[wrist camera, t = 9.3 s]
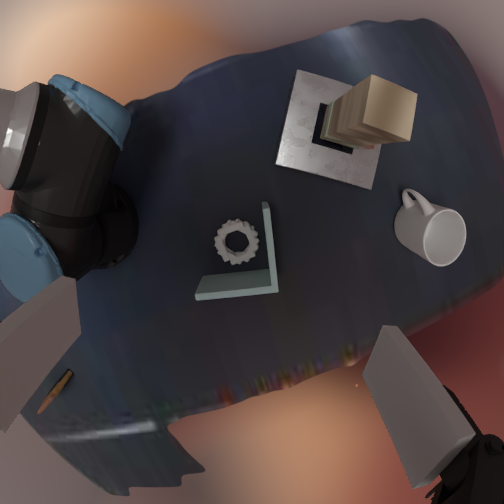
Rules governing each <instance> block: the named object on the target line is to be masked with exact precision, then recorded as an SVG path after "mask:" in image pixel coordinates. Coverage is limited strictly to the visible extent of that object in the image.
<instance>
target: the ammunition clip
mask: <svg viewBox="0 0 504 504" xmlns="http://www.w3.org/2000/svg"><path fill="white" fill-rule="evenodd" d="M73 375H74V373H73V372H72V371H71V370H70V369H68V370H67V371H66V372H65V373H64V374H63V376H62V377H61V378H60V379H59V380H58V381H57V383H56V384H55V385H54V386H53V388H52V389H51V390H50V392H49V393H48V394H47V397H46V398H45V399H44V401H43V403H42V405H41V406H40V408H39V410H38V414H40V413H41V412H42V411H43V410H44V409H45V408H46V407H47V406H48V405H49V404H50V403H51V401H52V400H53V399H54V398H55V397H56V396H57V395H58V394H59V393H60V391H61V390H62V389H63V388H64V387H65V386H66V384H67V383H68V381H69V380H70V379H71V377H72V376H73Z"/></svg>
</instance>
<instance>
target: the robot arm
mask: <svg viewBox="0 0 504 504" xmlns="http://www.w3.org/2000/svg"><path fill="white" fill-rule="evenodd" d="M130 124H131V116H130V113H129V112H128V110H127V109H126V108H125V107H124V106H122V105H121V104H119V103H118V102H116V101H115V100H113V99H111V98H110V97H108V96H106V95H104V94H103V93H101V92H99V91H97V90H95V89H93V88H91V87H89V86H87V85H84V84H81V83H79V82H77V81H75V80H73V79H71V78H69V77H66V76H63V75H57V74H56V75H54V76H53V77H52V78H51V79H50V80H49V81H48V85H45V84H42V83H38V82H33V83H31V84H29V85H28V86H26V87H25V88H23V89H21V90H20V91H17V92H14V91H9V90H5V89H0V184H1V185H2V187H3V188H4V189H7V190H15V192H14V196H13V201H12V206H11V211H10V213H6V214H3V215H2V216H1V217H0V279H1V281H2V283H3V284H4V286H5V287H6V288H7V289H8V290H9V292H10V293H11V294H12V295H13V296H15V297H16V298H17V299H19V300H20V301H22V302H24V304H23V305H22V306H21V307H19V308H18V309H17V310H16V311H14V312H13V313H12V314H11V315H9V316H8V317H7V318H6V319H4V320H3V321H0V430H1V431H3V432H4V433H6V431H7V430H8V428H9V426H10V425H11V424H12V422H13V421H14V419H15V418H16V417H17V415H18V414H19V412H20V411H21V410H22V408H23V407H24V405H25V404H26V403H27V401H28V400H29V399H30V397H31V396H32V395H33V393H34V392H35V391H36V389H37V388H38V387H39V385H40V384H41V383H42V381H43V380H44V379H45V377H46V376H47V375H48V374H49V372H50V371H51V370H52V368H53V367H54V366H55V365H56V363H57V362H58V361H59V360H60V358H61V357H62V356H63V355H64V353H65V352H66V351H67V350H68V349H69V347H70V346H71V345H72V344H73V343H74V341H75V340H76V339H77V338H78V337H79V335H80V334H81V328H80V321H79V312H78V303H77V292H76V281H78V280H79V279H80V278H82V277H83V276H84V275H85V274H87V273H88V272H89V271H91V270H93V269H105V268H109V267H112V266H114V265H116V264H118V263H119V262H121V261H122V260H123V259H124V258H125V257H127V256H128V254H129V253H130V252H131V250H132V249H133V247H134V245H135V242H136V239H137V234H138V219H137V214H136V210H135V208H134V205H133V203H132V201H131V200H130V198H129V197H128V195H127V194H126V193H125V192H124V191H123V190H122V189H121V188H120V187H118V186H117V185H115V184H113V183H111V182H109V179H110V176H111V173H112V171H113V168H114V165H115V163H116V160H117V158H118V155H119V153H120V151H122V150H123V143H124V140H125V137H126V135H127V132H128V130H129V127H130ZM362 376H363V378H364V380H365V382H366V384H367V386H368V389H369V391H370V392H371V395H372V397H373V399H374V401H375V404H376V406H377V408H378V410H379V412H380V414H381V417H382V419H383V421H384V423H385V426H386V428H387V430H388V432H389V434H390V437H391V439H392V441H393V443H394V446H395V448H396V450H397V452H398V455H399V457H400V460H401V462H402V464H403V467H404V469H405V472H406V474H407V476H408V479H409V481H410V484H411V486H412V488H413V489H415V488H418V487H422V486H425V485H428V484H430V483H431V482H432V481H433V480H434V479H435V478H436V477H437V476H438V475H439V474H440V476H441V479H442V481H441V482H439V483H438V484H437V485H436V486H435V487H434V488H433V489H432V490H431V491H430V492H429V493H428V494H427V495H426V497H425V498H428V497H429V496H430V495H432V494H433V493H434V492H435V494H434V497H432V498H431V500H432V503H431V504H504V442H503V441H502V440H501V439H500V438H499V437H497V436H495V435H492V434H487V435H483V434H482V433H481V431H480V430H479V429H478V427H477V425H476V424H475V422H474V421H473V419H472V418H471V417H470V415H469V414H468V412H467V411H466V410H464V409H465V408H464V407H463V406H462V404H461V403H459V400H458V398H457V397H456V396H455V394H454V393H453V392H452V391H451V390H449V389H448V388H447V387H446V386H444V385H442V384H441V383H440V382H439V380H438V379H437V377H436V376H435V375H434V373H433V372H432V371H431V369H430V368H429V367H428V365H427V364H426V363H425V361H424V360H423V359H422V358H421V356H420V355H419V354H418V352H417V351H416V350H415V349H414V347H413V346H412V345H411V343H410V342H409V341H408V339H407V338H406V337H405V336H404V334H403V333H402V332H401V331H400V329H399V328H398V327H397V326H385V325H383V326H382V329H381V331H380V334H379V336H378V339H377V341H376V344H375V346H374V348H373V351H372V353H371V356H370V358H369V360H368V363H367V365H366V367H365V369H364V371H363V374H362Z"/></svg>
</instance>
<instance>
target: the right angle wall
mask: <svg viewBox="0 0 504 504" xmlns="http://www.w3.org/2000/svg"><path fill="white" fill-rule="evenodd" d="M262 210H263V218H264V227H265V236H266V244H267V253H268V262H269V269H261V270H252V271H243V272H234V273H225V274H216V275H206V276H202V279H201V281H200V283H199V286H198V288H197V290H196V292H195V297H196V300H207V299H218V298H228V297H238V296H248V295H257V294H266V293H275V292H278V282H277V272H276V262H275V253H274V243H273V234H272V225H271V216H270V208H269V205H268V202H262ZM236 230H238V231H240V232H242V233H244V234H246V236H247V238H248V240H249V245H248V246H247V248H246V249H245V250H244V251H243V252H233V251H232V250H230V249H229V248H228V247H226V245H225V238H226V236H227V234H228V233H231V232H234V231H236ZM217 233H218V236H216V237H214V240H215V242H216V243H215V247H217V248H216V249H217V250H219V251H218V254H219V255H221V256H222V258H223V260H224V262H226V261H229V260H230V262H231V264H232V265H234V264H236V263H237V264H241V262H242V261H246V262H248V261H249V259H250V258H252V257H255V254H256V253H255V252H256V251H257V249H259V248H258V247H259V245H258V242H259V239H258V238H256V237H257V236H258V232H256V231H255V230H254V226H250V224H248V222H246V221H245V222H242V221H241V220H240V219H236V220H235V221H231V220H228V221H227V223H225V224H222V228H220V229H218V230H217Z"/></svg>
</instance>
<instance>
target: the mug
mask: <svg viewBox="0 0 504 504" xmlns="http://www.w3.org/2000/svg"><path fill="white" fill-rule="evenodd" d="M407 192H410V193H412V194H413V195H414V196H415V198H416V199H417V200H412V199H411V198H410V197H409V195H408V193H407ZM402 200H403V204H404V205H402V206H401V208H400V209H399V210H398V212H397V214H396V217H395V221H394V230H395V234H396V237H397V239H398V240H399V241H400V243H401V244H403V245H404V246H405V247H407V248H408V249H410V250H412V251H413V252H415V253H416V254H418V255H420V256H421V257H423V258H424V259H426V260H427V261H429V262H430V263H432V264H434V265H436V266H446V265H449V264H450V263H452V262H453V261H455V260H456V259H457V258H458V256H459V255H460V253H461V252H462V250H463V247H464V245H465V241H466V226H465V223H464V220H463V218H462V217H461V216H460V214H459V213H458V212H456V211H454V210H452V209H449V208H445V207H442V206H439V205H435V204H432V203H429V202H428V201H427V200H426V199H425V198H424V197H423V196H422V195H421V194H419V193H418V192H416V191H414V190H412V189H405V190H404V191H403V193H402Z"/></svg>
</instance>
